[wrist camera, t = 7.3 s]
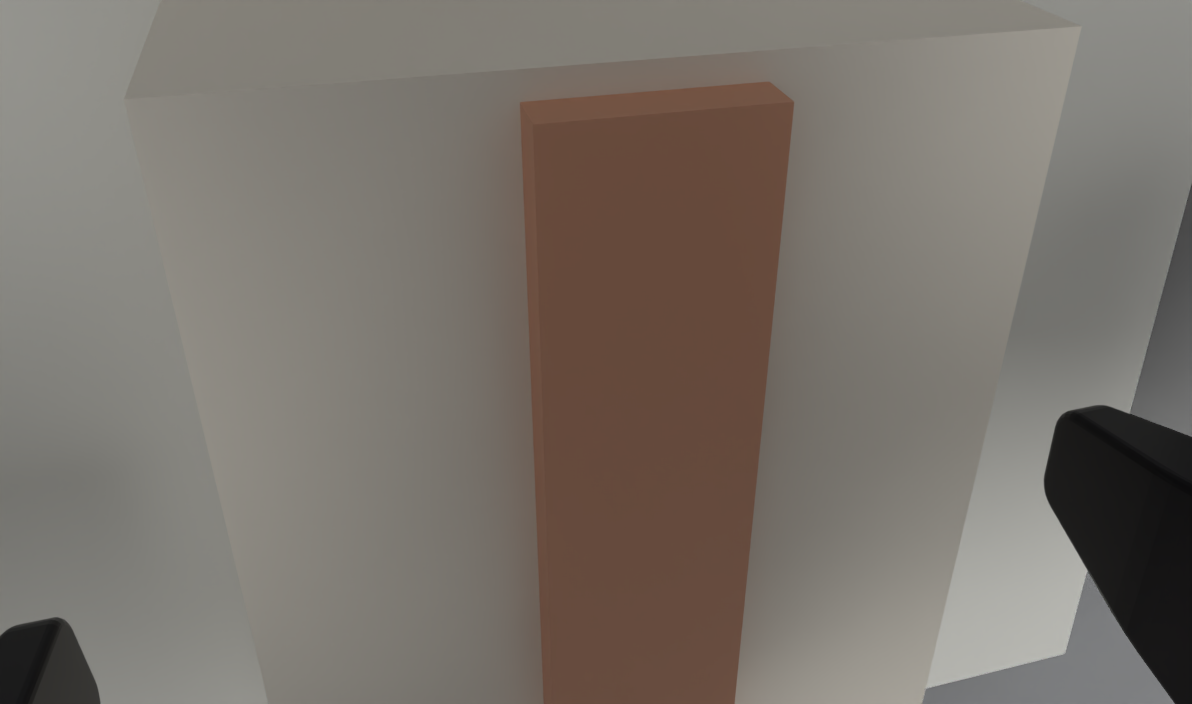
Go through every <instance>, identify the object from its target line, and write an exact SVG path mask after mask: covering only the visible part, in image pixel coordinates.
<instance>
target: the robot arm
mask: <svg viewBox="0 0 1192 704" xmlns="http://www.w3.org/2000/svg"><path fill="white" fill-rule="evenodd" d="M1044 491H1045V495H1046V498H1047V501H1048V503H1049V505H1050V507H1051V509H1052V510H1053V512H1054V514H1055V516H1056V517H1057V519H1058V521H1059V522H1060V524H1061V526H1062V528H1063V529H1064V531H1065V533H1066V534H1067V536H1068V538H1069V540H1070V541H1071V543H1072V545H1073V547H1074V548H1075V550H1076V552H1077V553H1078V555H1079V557H1080V559H1081V560H1082V562H1083V564H1084V565H1085V567H1086V569H1087V571H1088V572H1089V574H1090V576H1091V577H1092V579H1093V581H1094V583H1095V584H1096V586H1097V588H1098V590H1099V591H1100V593H1101V595H1102V596H1103V598H1104V600H1105V602H1106V603H1107V605H1108V607H1109V608H1110V610H1111V612H1112V614H1113V615H1114V617H1115V618H1116V620H1117V622H1118V623H1119V625H1120V626H1121V628H1122V630H1123V631H1124V633H1125V634H1126V636H1127V637H1128V639H1129V640H1130V642H1131V643H1132V645H1133V646H1134V648H1135V649H1136V650H1137V652H1138V653H1139V655H1140V656H1141V658H1142V659H1143V660H1144V662H1145V663H1146V664H1147V666H1148V667H1149V669H1150V670H1151V671H1152V673H1153V674H1154V676H1155V677H1156V678H1157V680H1158V681H1159V682H1160V684H1161V685H1162V687H1163V688H1164V689H1165V691H1166V692H1167V693H1168V695H1169V696H1170V698H1171V699H1172V700H1173V702H1174V703H1175V704H1192V437H1191V436H1188V435H1185V434H1183V433H1180V432H1177V431H1175V430H1172V429H1169V428H1166V427H1164V426H1161V425H1158V424H1156V423H1153V422H1150V421H1148V420H1145V419H1142V418H1140V417H1137V416H1134V415H1132V414H1129V413H1126V412H1124V411H1121V410H1118V409H1115V408H1113V407H1110V406H1107V405H1094V406H1089V407H1084V408H1079V409H1074V410H1070V411H1067V412H1065V413H1063V414H1062V415H1061V416H1060V417H1059V419H1058V420H1057V422H1056V425H1055V429H1054V433H1053V438H1052V442H1051V447H1050V451H1049V455H1048V460H1047V464H1046V469H1045V473H1044ZM0 704H101V703H100V696H99V691H98V687H97V684H96V681H95V679H94V676H93V674H92V672H91V670H90V667H89V665H88V663H87V661H86V658H85V656H84V654H83V652H82V649H81V647H80V645H79V643H78V640H77V638H76V636H75V634H74V631H73V629H72V628H71V626H70V625H69V623H68V622H67V621H66V620H65V619H62V618H58V617H53V618H48V619H43V620H38V621H33V622H28V623H23V624H19V625H15V626H13V627H10V628H9V629H7V630H6V631H5V632H3V633H2V634H1V635H0Z"/></svg>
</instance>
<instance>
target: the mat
mask: <svg viewBox="0 0 1192 704" xmlns="http://www.w3.org/2000/svg"><path fill="white" fill-rule="evenodd" d="M160 1H161V0H0V635H1V634H2V633H3V632H5V631H6V630H7V629H9V628H10V627H13V626H15V625H19V624H23V623H28V622H33V621H38V620H43V619H48V618H53V617H58V618H62V619H65V620H66V621H67V622H68V623H69V625H70V626H71V628H72V629H73V631H74V634H75V636H76V638H77V640H78V643H79V645H80V647H81V649H82V652H83V654H84V656H85V658H86V661H87V663H88V665H89V667H90V670H91V672H92V674H93V676H94V679H95V681H96V684H97V687H98V691H99V696H100V703H101V704H269V703H268V699H267V695H266V691H265V687H264V682H263V678H262V674H261V670H260V666H259V662H258V657H257V653H256V649H255V645H254V641H253V637H252V632H251V628H250V624H249V620H248V616H247V612H246V607H245V603H244V599H243V595H242V591H241V587H240V582H239V578H238V574H237V570H236V566H235V562H234V557H233V553H232V549H231V545H230V541H229V536H228V532H227V528H226V524H225V520H224V516H223V511H222V507H221V503H220V499H219V495H218V491H217V486H216V482H215V478H214V474H213V470H212V466H211V461H210V457H209V453H208V449H207V445H206V441H205V436H204V432H203V428H202V424H201V420H200V416H199V411H198V407H197V403H196V399H195V395H194V391H193V386H192V382H191V378H190V374H189V370H188V366H187V361H186V357H185V353H184V349H183V345H182V340H181V336H180V332H179V328H178V324H177V320H176V315H175V311H174V307H173V303H172V299H171V295H170V290H169V286H168V282H167V278H166V274H165V270H164V265H163V261H162V257H161V253H160V249H159V245H158V240H157V236H156V232H155V228H154V224H153V220H152V215H151V211H150V207H149V203H148V199H147V195H146V190H145V186H144V182H143V178H142V174H141V169H140V165H139V161H138V157H137V153H136V149H135V144H134V140H133V136H132V132H131V128H130V124H129V119H128V115H127V111H126V107H125V103H124V97H125V95H126V92H127V89H128V87H129V84H130V81H131V79H132V76H133V73H134V71H135V68H136V65H137V62H138V60H139V57H140V54H141V52H142V49H143V46H144V44H145V41H146V38H147V36H148V33H149V30H150V28H151V25H152V22H153V20H154V17H155V14H156V12H157V9H158V6H159V4H160ZM1021 1H1023V2H1026V3H1028V4H1030V5H1033V6H1035V7H1037V8H1040V9H1042V10H1044V11H1047V12H1049V13H1052V14H1054V15H1056V16H1059V17H1061V18H1063V19H1066V20H1068V21H1070V22H1073V23H1075V24H1078V25H1080V26H1082V28H1081V32H1080V36H1079V40H1078V45H1077V49H1076V53H1075V57H1074V61H1073V66H1072V70H1071V74H1070V78H1069V83H1068V87H1067V91H1066V95H1065V100H1064V104H1063V108H1062V112H1061V117H1060V121H1059V125H1058V129H1057V134H1056V138H1055V142H1054V146H1053V151H1052V155H1051V159H1050V163H1049V168H1048V172H1047V176H1046V180H1045V184H1044V189H1043V193H1042V197H1041V201H1040V206H1039V210H1038V214H1037V218H1036V223H1035V227H1034V231H1033V235H1032V240H1031V244H1030V248H1029V252H1028V257H1027V261H1026V265H1025V269H1024V274H1023V278H1022V282H1021V286H1020V291H1019V295H1018V299H1017V303H1016V307H1015V312H1014V316H1013V320H1012V324H1011V329H1010V333H1009V337H1008V341H1007V346H1006V350H1005V354H1004V358H1003V363H1002V367H1001V371H1000V375H999V380H998V384H997V388H996V392H995V397H994V401H993V405H992V409H991V414H990V418H989V422H988V426H987V430H986V435H985V439H984V443H983V447H982V452H981V456H980V460H979V464H978V469H977V473H976V477H975V481H974V486H973V490H972V494H971V498H970V503H969V507H968V511H967V515H966V520H965V524H964V528H963V532H962V537H961V541H960V545H959V549H958V553H957V558H956V562H955V566H954V570H953V575H952V579H951V583H950V587H949V592H948V596H947V600H946V604H945V609H944V613H943V617H942V621H941V626H940V630H939V634H938V638H937V643H936V647H935V651H934V655H933V659H932V664H931V668H930V672H929V676H928V681H927V685H926V688H930V687H934V686H938V685H942V684H946V683H950V682H954V681H958V680H962V679H966V678H970V677H974V676H978V675H982V674H986V673H990V672H994V671H998V670H1002V669H1006V668H1010V667H1014V666H1018V665H1022V664H1026V663H1030V662H1034V661H1038V660H1042V659H1046V658H1050V657H1054V656H1058V655H1062V654H1065V652H1066V648H1067V644H1068V640H1069V637H1070V633H1071V629H1072V626H1073V622H1074V618H1075V614H1076V611H1077V607H1078V603H1079V600H1080V596H1081V592H1082V588H1083V585H1084V581H1085V577H1086V574H1087V569H1086V567H1085V565H1084V564H1083V562H1082V560H1081V559H1080V557H1079V555H1078V553H1077V552H1076V550H1075V548H1074V547H1073V545H1072V543H1071V541H1070V540H1069V538H1068V536H1067V534H1066V533H1065V531H1064V529H1063V528H1062V526H1061V524H1060V522H1059V521H1058V519H1057V517H1056V516H1055V514H1054V512H1053V510H1052V509H1051V507H1050V505H1049V503H1048V501H1047V498H1046V495H1045V491H1044V473H1045V469H1046V464H1047V460H1048V455H1049V451H1050V447H1051V442H1052V438H1053V433H1054V429H1055V425H1056V422H1057V420H1058V419H1059V417H1060V416H1061V415H1062V414H1063V413H1065V412H1067V411H1070V410H1074V409H1079V408H1084V407H1089V406H1094V405H1107V406H1110V407H1113V408H1115V409H1118V410H1121V411H1124V412H1126V413H1129V414H1130V410H1131V407H1132V403H1133V399H1134V396H1135V392H1136V388H1137V384H1138V381H1139V377H1140V373H1141V370H1142V366H1143V362H1144V358H1145V355H1146V351H1147V347H1148V344H1149V340H1150V336H1151V333H1152V329H1153V325H1154V321H1155V318H1156V314H1157V310H1158V307H1159V303H1160V299H1161V295H1162V292H1163V288H1164V284H1165V281H1166V277H1167V273H1168V269H1169V266H1170V262H1171V258H1172V255H1173V251H1174V247H1175V244H1176V240H1177V236H1178V232H1179V229H1180V225H1181V221H1182V218H1183V214H1184V210H1185V206H1186V203H1187V199H1188V195H1189V192H1190V188H1191V184H1192V0H1021Z"/></svg>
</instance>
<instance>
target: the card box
mask: <svg viewBox="0 0 1192 704" xmlns="http://www.w3.org/2000/svg"><path fill="white" fill-rule="evenodd" d="M1081 28H1082V26H1080V25H1078V24H1075V23H1073V22H1070V21H1068V20H1066V19H1063V18H1061V17H1059V16H1056V15H1054V14H1052V13H1049V12H1047V11H1044V10H1042V9H1040V8H1037V7H1035V6H1033V5H1030V4H1028V3H1026V2H1023V1H1021V0H161V1H160V4H159V6H158V9H157V12H156V14H155V17H154V20H153V22H152V25H151V28H150V30H149V33H148V36H147V38H146V41H145V44H144V46H143V49H142V52H141V54H140V57H139V60H138V62H137V65H136V68H135V71H134V73H133V76H132V79H131V81H130V84H129V87H128V89H127V92H126V95H125V97H124V103H125V107H126V111H127V115H128V119H129V124H130V128H131V132H132V136H133V140H134V144H135V149H136V153H137V157H138V161H139V165H140V169H141V174H142V178H143V182H144V186H145V190H146V195H147V199H148V203H149V207H150V211H151V215H152V220H153V224H154V228H155V232H156V236H157V240H158V245H159V249H160V253H161V257H162V261H163V265H164V270H165V274H166V278H167V282H168V286H169V290H170V295H171V299H172V303H173V307H174V311H175V315H176V320H177V324H178V328H179V332H180V336H181V340H182V345H183V349H184V353H185V357H186V361H187V366H188V370H189V374H190V378H191V382H192V386H193V391H194V395H195V399H196V403H197V407H198V411H199V416H200V420H201V424H202V428H203V432H204V436H205V441H206V445H207V449H208V453H209V457H210V461H211V466H212V470H213V474H214V478H215V482H216V486H217V491H218V495H219V499H220V503H221V507H222V511H223V516H224V520H225V524H226V528H227V532H228V536H229V541H230V545H231V549H232V553H233V557H234V562H235V566H236V570H237V574H238V578H239V582H240V587H241V591H242V595H243V599H244V603H245V607H246V612H247V616H248V620H249V624H250V628H251V632H252V637H253V641H254V645H255V649H256V653H257V657H258V662H259V666H260V670H261V674H262V678H263V682H264V687H265V691H266V695H267V699H268V703H269V704H922V702H923V698H924V693H925V689H926V685H927V681H928V676H929V672H930V668H931V664H932V659H933V655H934V651H935V647H936V643H937V638H938V634H939V630H940V626H941V621H942V617H943V613H944V609H945V604H946V600H947V596H948V592H949V587H950V583H951V579H952V575H953V570H954V566H955V562H956V558H957V553H958V549H959V545H960V541H961V537H962V532H963V528H964V524H965V520H966V515H967V511H968V507H969V503H970V498H971V494H972V490H973V486H974V481H975V477H976V473H977V469H978V464H979V460H980V456H981V452H982V447H983V443H984V439H985V435H986V430H987V426H988V422H989V418H990V414H991V409H992V405H993V401H994V397H995V392H996V388H997V384H998V380H999V375H1000V371H1001V367H1002V363H1003V358H1004V354H1005V350H1006V346H1007V341H1008V337H1009V333H1010V329H1011V324H1012V320H1013V316H1014V312H1015V307H1016V303H1017V299H1018V295H1019V291H1020V286H1021V282H1022V278H1023V274H1024V269H1025V265H1026V261H1027V257H1028V252H1029V248H1030V244H1031V240H1032V235H1033V231H1034V227H1035V223H1036V218H1037V214H1038V210H1039V206H1040V201H1041V197H1042V193H1043V189H1044V184H1045V180H1046V176H1047V172H1048V168H1049V163H1050V159H1051V155H1052V151H1053V146H1054V142H1055V138H1056V134H1057V129H1058V125H1059V121H1060V117H1061V112H1062V108H1063V104H1064V100H1065V95H1066V91H1067V87H1068V83H1069V78H1070V74H1071V70H1072V66H1073V61H1074V57H1075V53H1076V49H1077V45H1078V40H1079V36H1080V32H1081Z"/></svg>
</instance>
